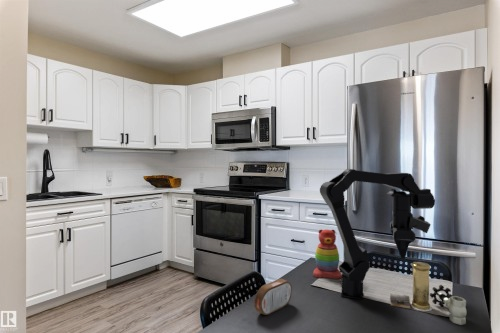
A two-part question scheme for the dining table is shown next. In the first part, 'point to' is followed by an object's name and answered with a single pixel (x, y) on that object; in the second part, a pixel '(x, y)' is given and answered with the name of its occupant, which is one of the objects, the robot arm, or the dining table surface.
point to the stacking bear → (327, 256)
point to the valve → (451, 304)
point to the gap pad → (420, 309)
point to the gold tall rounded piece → (421, 285)
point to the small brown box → (399, 300)
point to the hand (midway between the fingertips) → (401, 254)
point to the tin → (273, 296)
